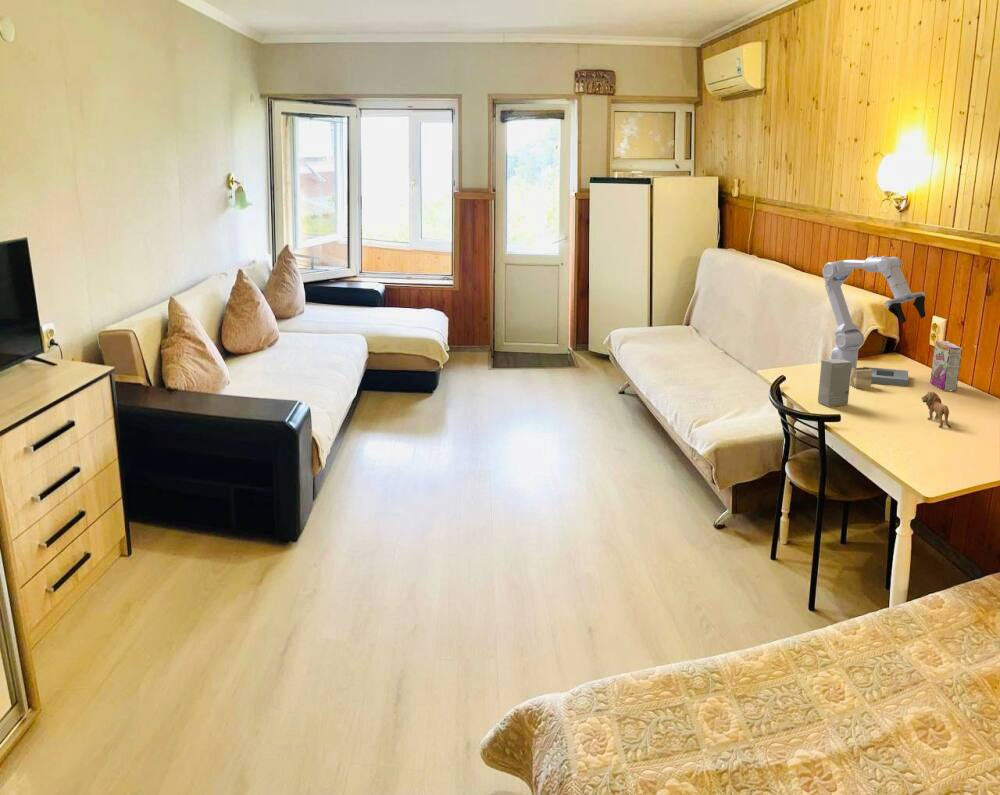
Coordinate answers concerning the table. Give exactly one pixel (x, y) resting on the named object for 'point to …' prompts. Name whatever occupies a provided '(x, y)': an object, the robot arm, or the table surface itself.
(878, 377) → the socket plate
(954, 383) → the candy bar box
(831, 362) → the skincare box
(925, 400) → the lion figurine
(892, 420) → the table surface
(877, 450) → the table surface
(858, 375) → the keyed plug
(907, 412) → the table surface
